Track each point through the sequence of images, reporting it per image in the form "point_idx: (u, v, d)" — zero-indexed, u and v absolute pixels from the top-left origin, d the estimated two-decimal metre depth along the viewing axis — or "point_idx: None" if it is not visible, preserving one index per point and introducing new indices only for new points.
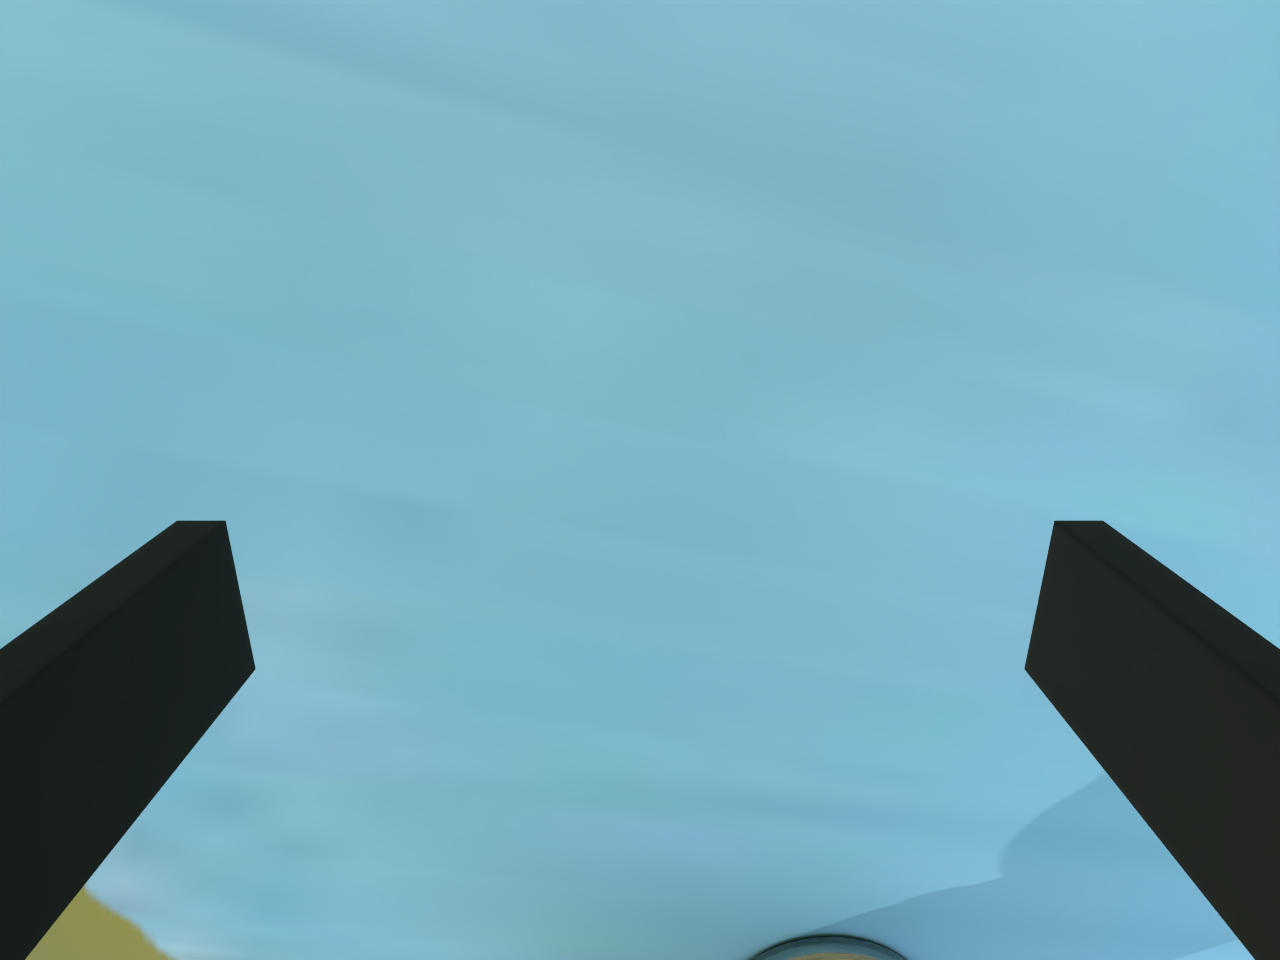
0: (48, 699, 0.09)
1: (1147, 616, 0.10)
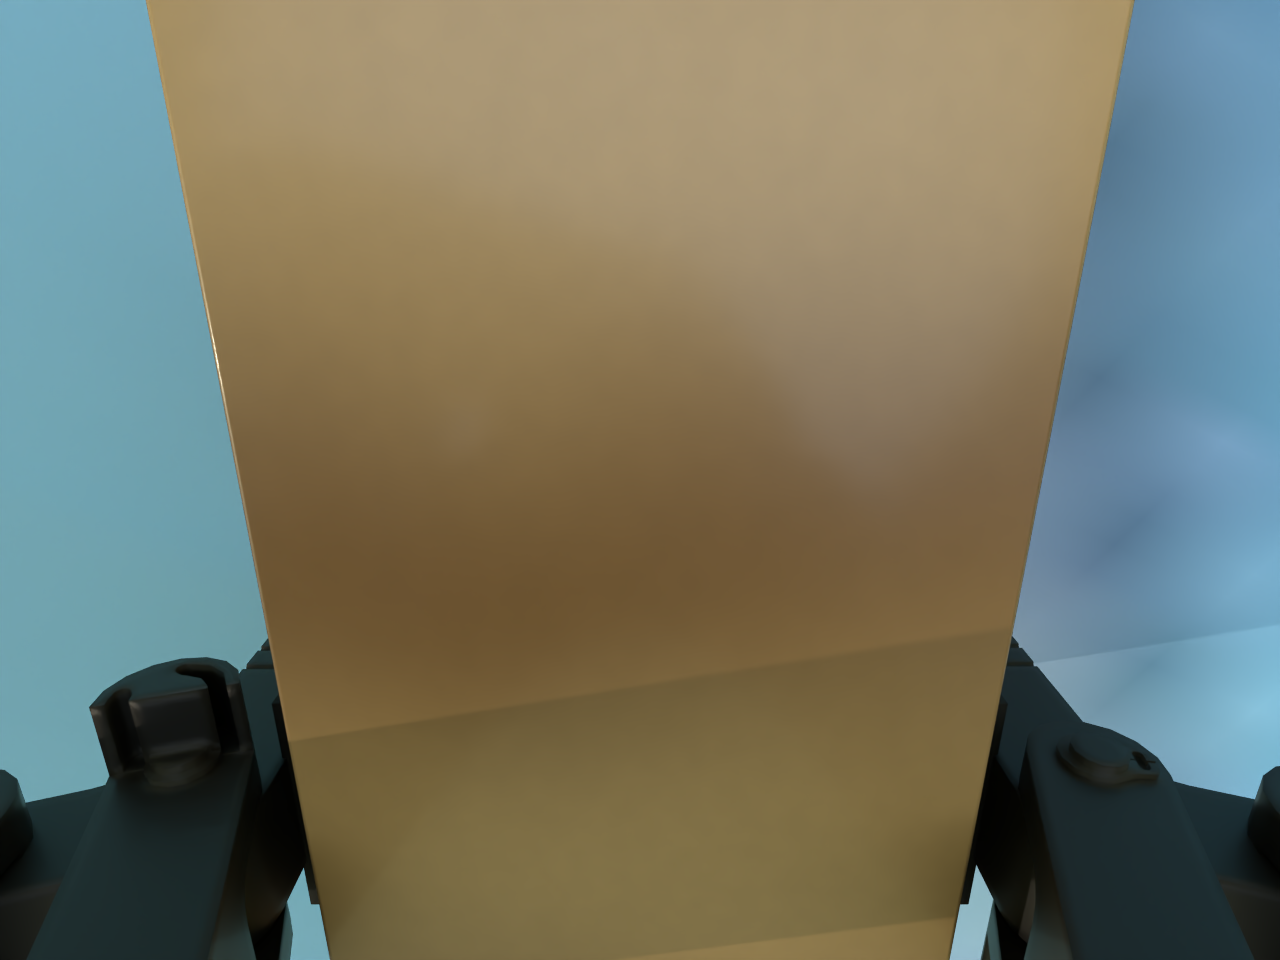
0: None
1: None
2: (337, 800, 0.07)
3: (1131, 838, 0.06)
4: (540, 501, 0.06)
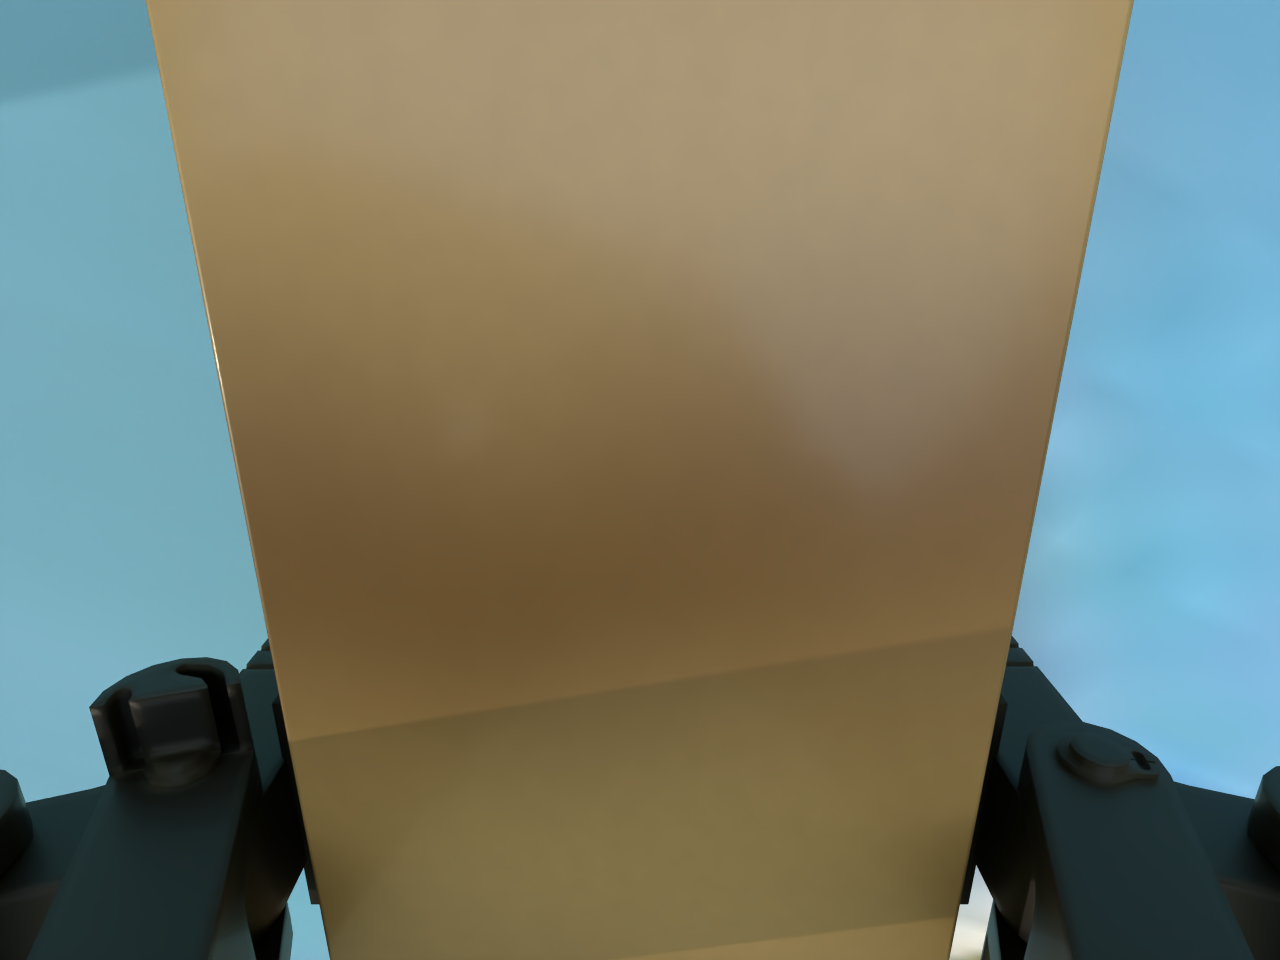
0: None
1: None
2: (337, 800, 0.07)
3: (1131, 839, 0.06)
4: (539, 501, 0.06)
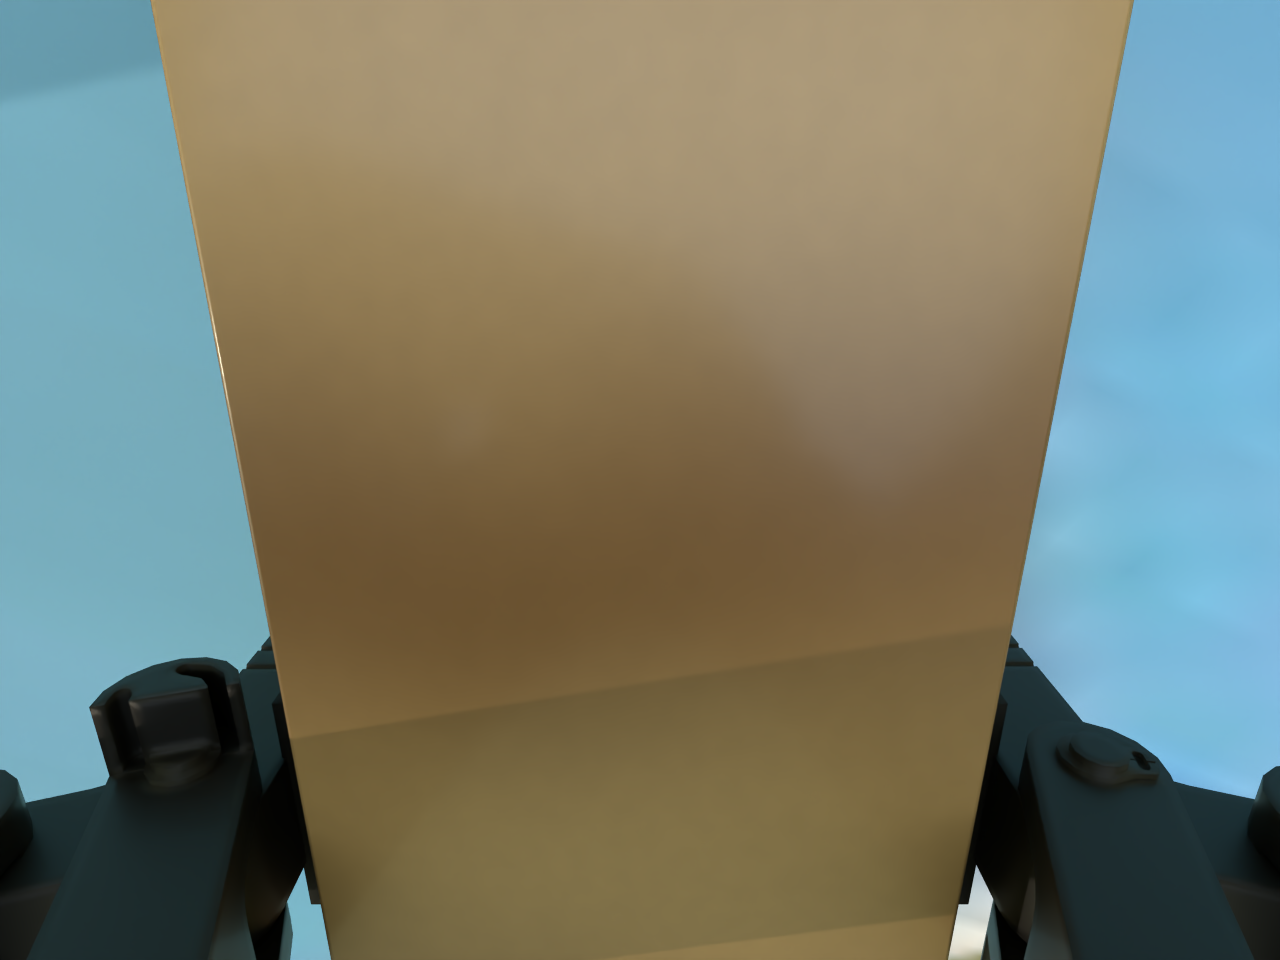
0: None
1: None
2: (338, 797, 0.07)
3: (1131, 839, 0.06)
4: (541, 500, 0.06)
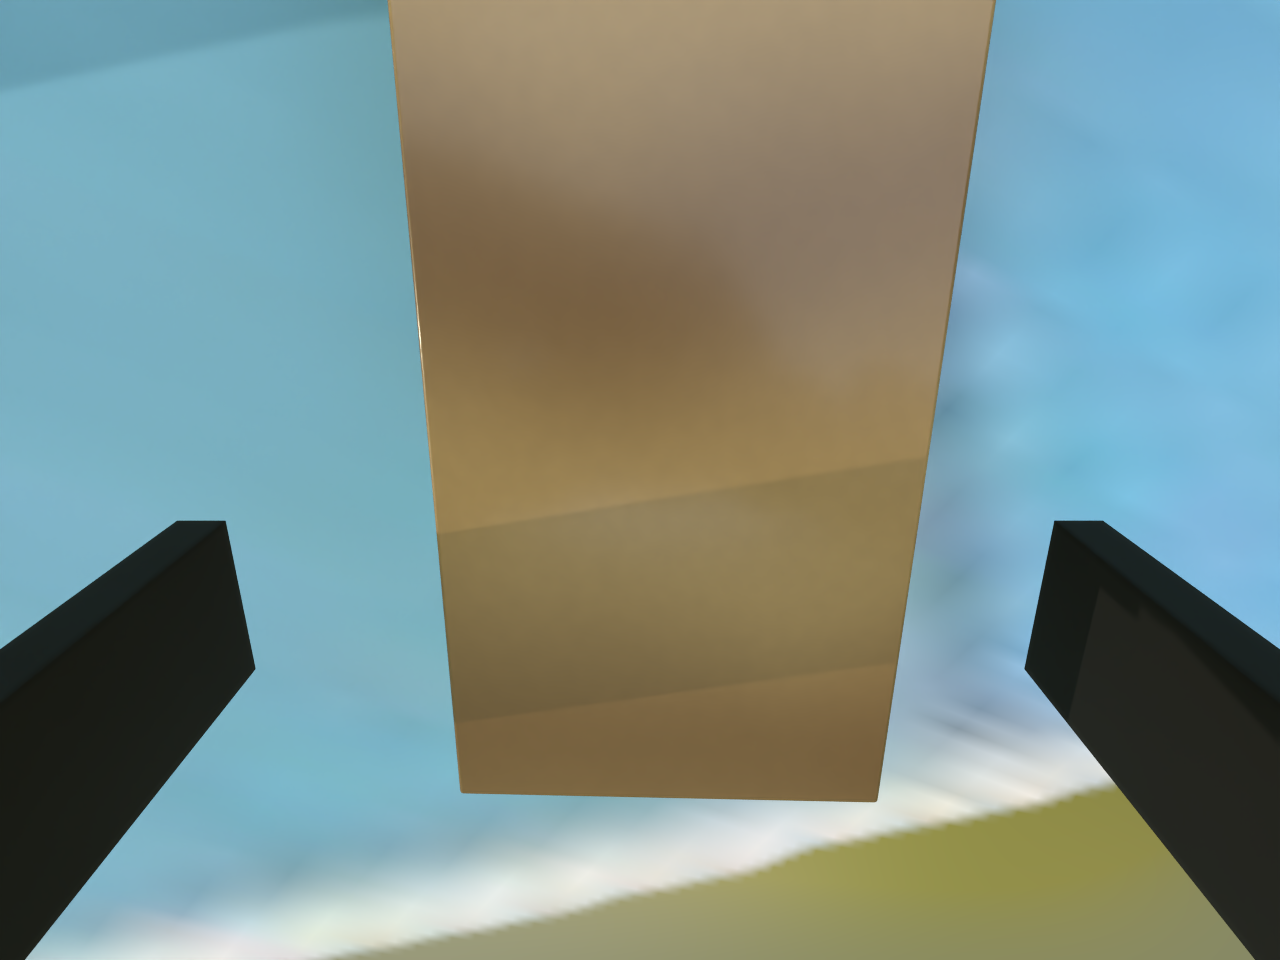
0: (48, 699, 0.09)
1: (1147, 616, 0.10)
2: (457, 454, 0.09)
3: None
4: (615, 208, 0.08)
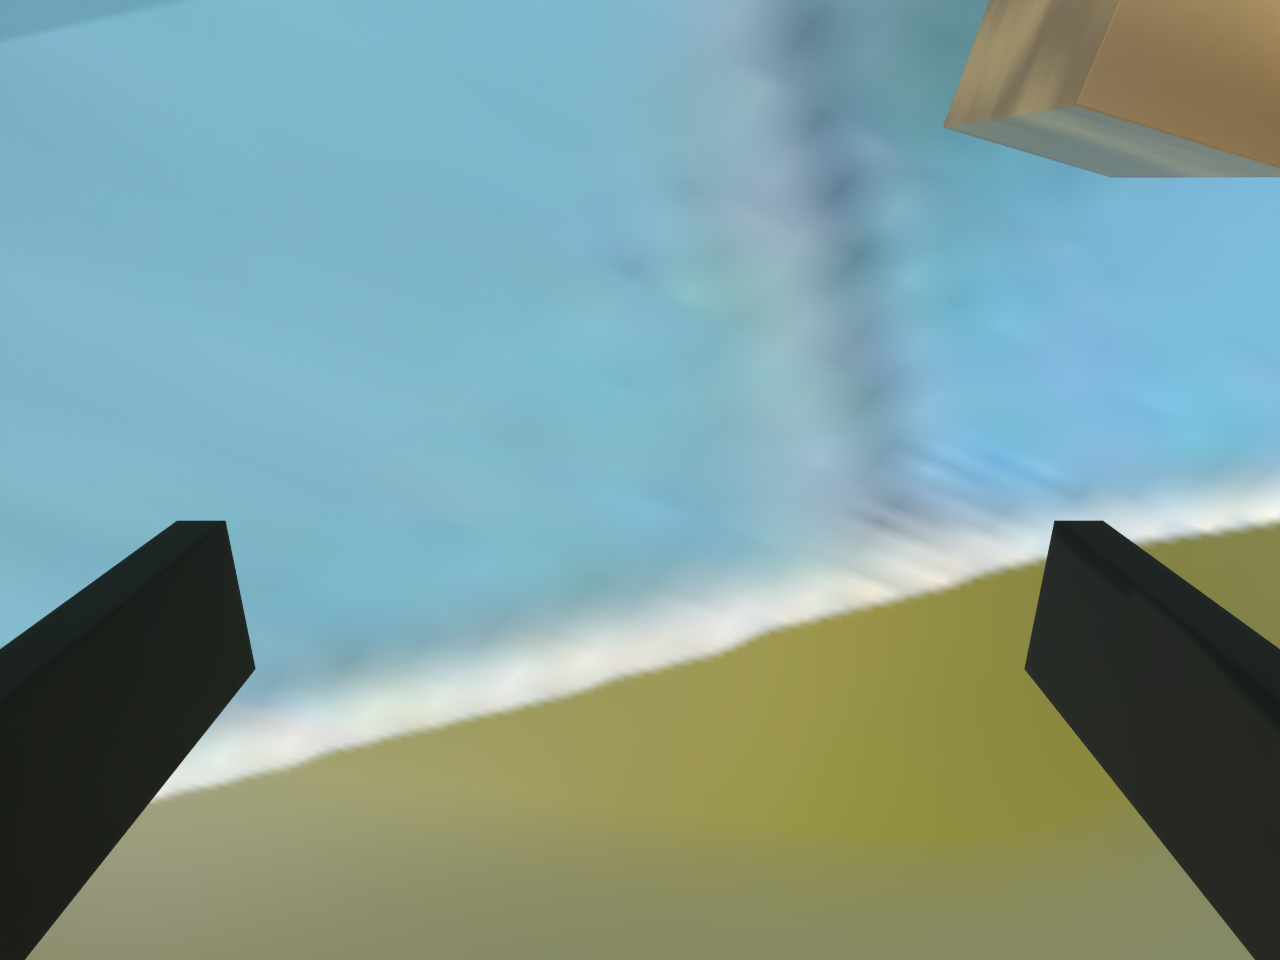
0: (48, 699, 0.09)
1: (1147, 616, 0.10)
2: None
3: None
4: None
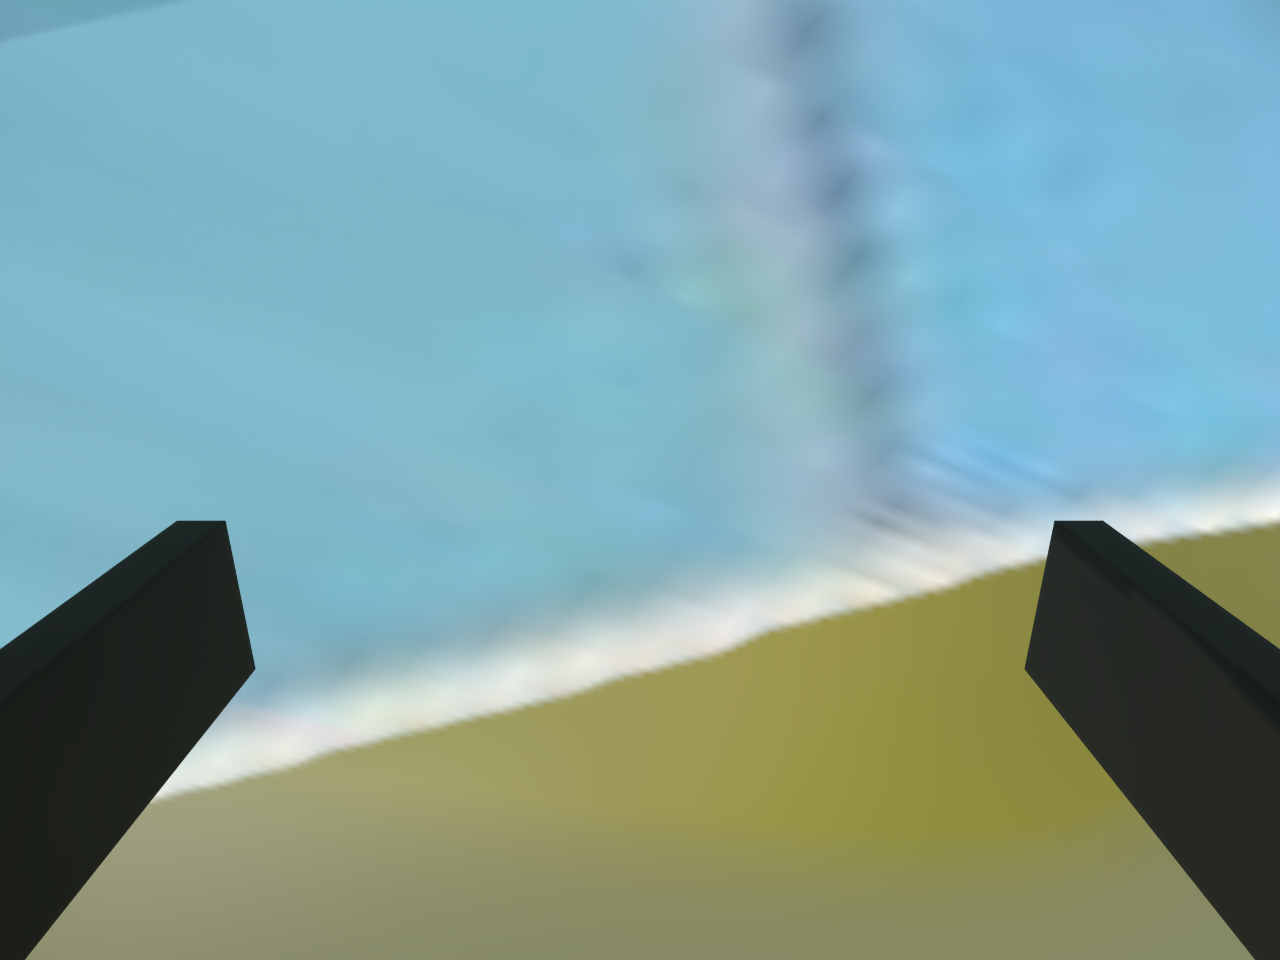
0: (48, 699, 0.09)
1: (1147, 616, 0.10)
2: None
3: None
4: None
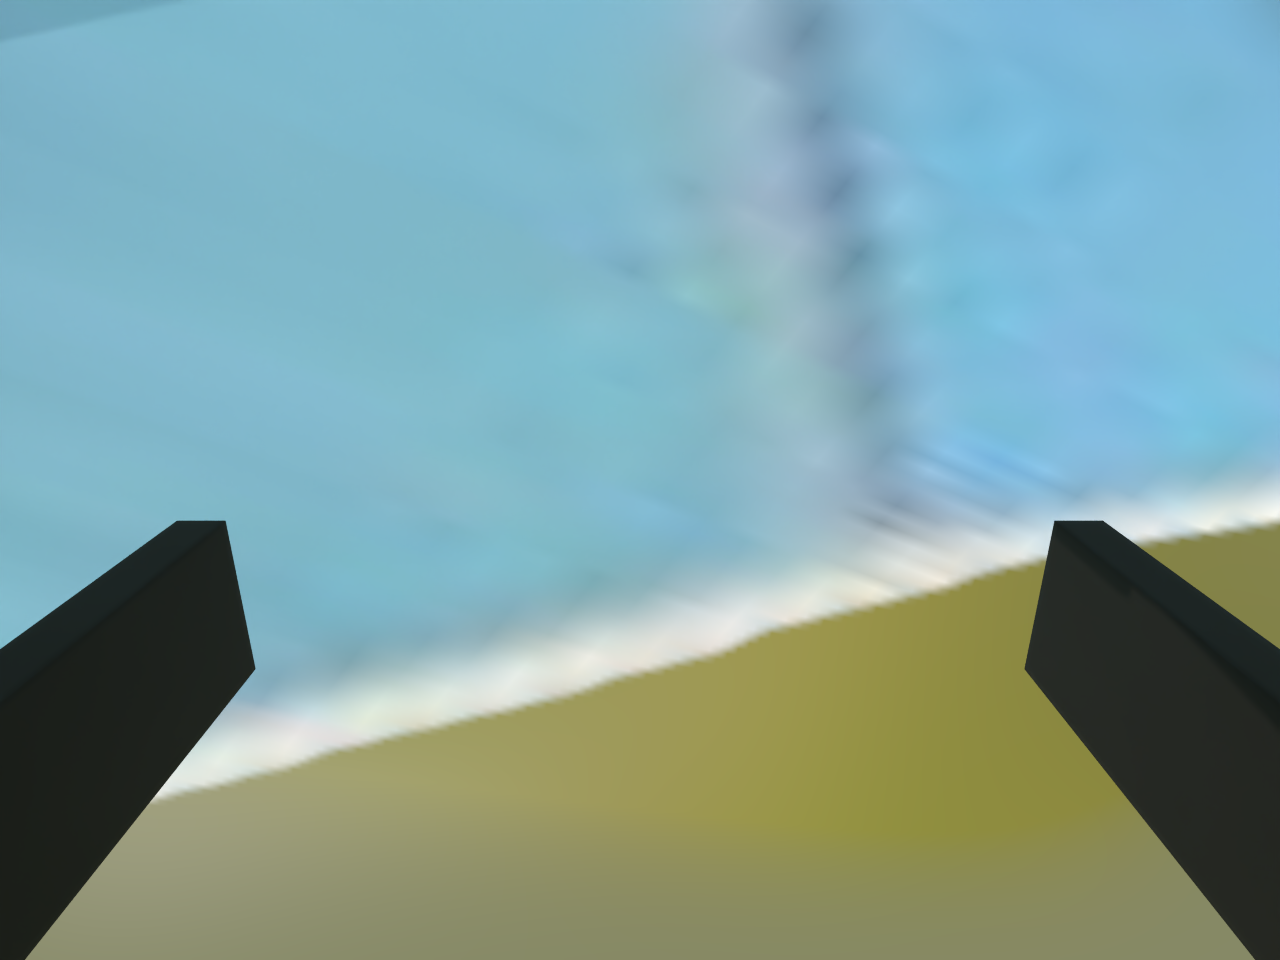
0: (48, 699, 0.09)
1: (1147, 616, 0.10)
2: None
3: None
4: None
